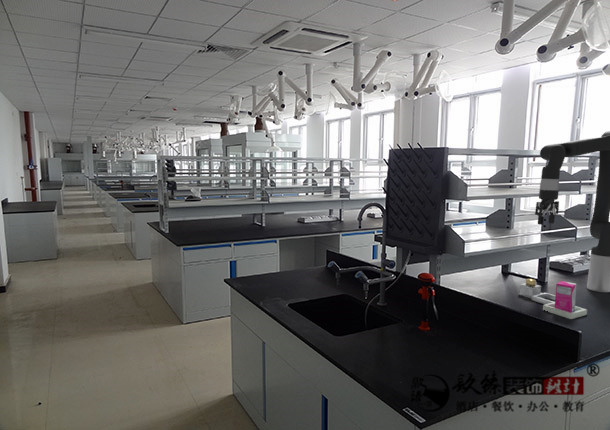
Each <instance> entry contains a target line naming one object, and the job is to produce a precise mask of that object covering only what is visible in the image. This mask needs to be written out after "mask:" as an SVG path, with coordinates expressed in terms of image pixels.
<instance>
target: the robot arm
mask: <svg viewBox="0 0 610 430" xmlns="http://www.w3.org/2000/svg"><path fill="white" fill-rule="evenodd" d="M596 152H599V155H598V156H599V164H598V172H597V173H598V175H597V180H596V181H597V182H596V190H595V191H596V192H595V200H594V207H593V212H592V218H591V221H590V224H589V225H590V226H589V233H590V235H591V237H592V238H594V239H596V240H598V243H597V245H596V246H593V247H591V250H590V258H589V267H588V273H587V274H588V275H587V283H586V284H587V285H586V288H587V290H590V291H593V292H598V293H610V130H609V131H605V132H604V133H602V134H601V137H594V138H583V139H575V140H572V141H566V142H562V143H553V144H547V145H545V146H543V147H542V148H541V149H540V150H539V156H540V158H541V159H543V160H544V161H548V163H547V165H545V166H543V167H542V169H541V175H540V177H541V178H540V183H539V193H538V199H539V200H541V201H537V202H536V203H535V211H534V214H535V216H537V224H538V225H540V226H542V225H544V220H545V215H546V213H548V214H549V216H548V224H555V217H556V215H558V214H559V208H560V201H558V199H559V192H560V174H561V168H562V167H563V164H564V161H565V158H572V157H573V158H574V157H578V156H583V155H587V154H592V153H596Z"/></svg>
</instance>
